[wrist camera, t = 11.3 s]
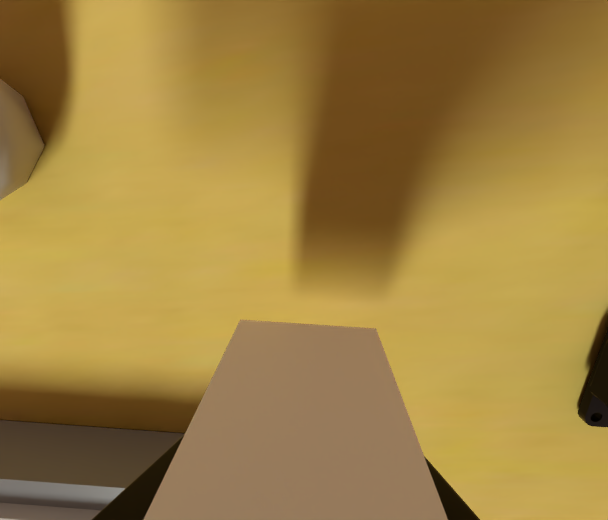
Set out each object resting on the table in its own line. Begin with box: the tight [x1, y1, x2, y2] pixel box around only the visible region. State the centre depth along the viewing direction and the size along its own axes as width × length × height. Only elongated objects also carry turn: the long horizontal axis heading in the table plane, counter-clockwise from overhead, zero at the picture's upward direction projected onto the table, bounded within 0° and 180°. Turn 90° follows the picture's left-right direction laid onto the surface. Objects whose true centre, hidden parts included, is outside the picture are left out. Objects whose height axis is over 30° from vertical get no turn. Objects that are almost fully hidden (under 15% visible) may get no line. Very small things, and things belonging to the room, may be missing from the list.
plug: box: [144, 320, 448, 520], centre depth 7 cm, size 4×4×7 cm
